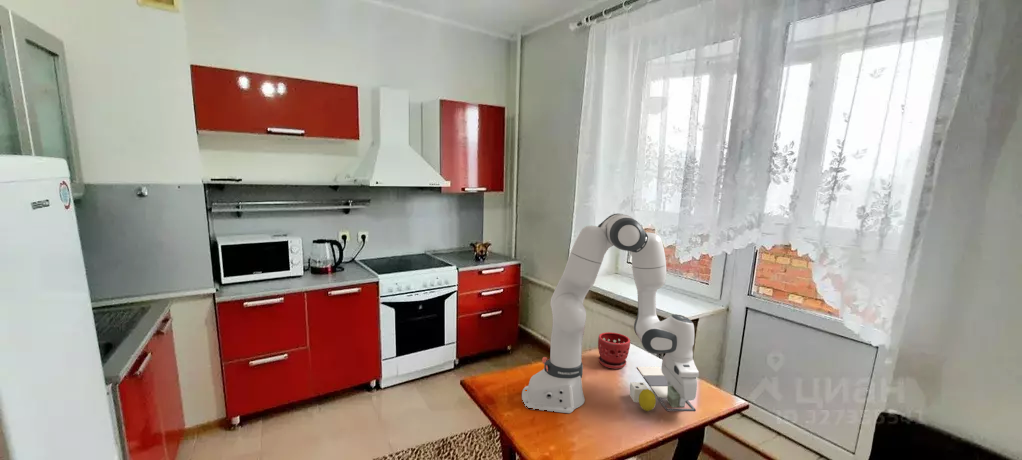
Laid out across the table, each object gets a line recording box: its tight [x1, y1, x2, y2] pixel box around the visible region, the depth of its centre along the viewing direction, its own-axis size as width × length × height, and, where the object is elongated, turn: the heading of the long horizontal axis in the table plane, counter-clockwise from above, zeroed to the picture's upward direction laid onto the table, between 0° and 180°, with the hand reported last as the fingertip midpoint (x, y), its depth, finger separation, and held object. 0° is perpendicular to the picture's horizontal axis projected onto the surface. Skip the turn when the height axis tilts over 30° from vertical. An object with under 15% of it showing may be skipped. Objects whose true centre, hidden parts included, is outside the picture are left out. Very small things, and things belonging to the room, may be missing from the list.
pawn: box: [666, 384, 686, 408], centre depth 144 cm, size 4×4×9 cm
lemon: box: [638, 388, 657, 412], centre depth 139 cm, size 6×6×8 cm
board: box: [636, 366, 696, 412], centre depth 156 cm, size 10×32×1 cm, turn 1°
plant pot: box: [597, 331, 631, 370], centre depth 173 cm, size 13×13×12 cm
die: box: [629, 381, 649, 403], centre depth 147 cm, size 5×5×5 cm
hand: (675, 398), depth 144 cm, fingers open, 8 cm apart
